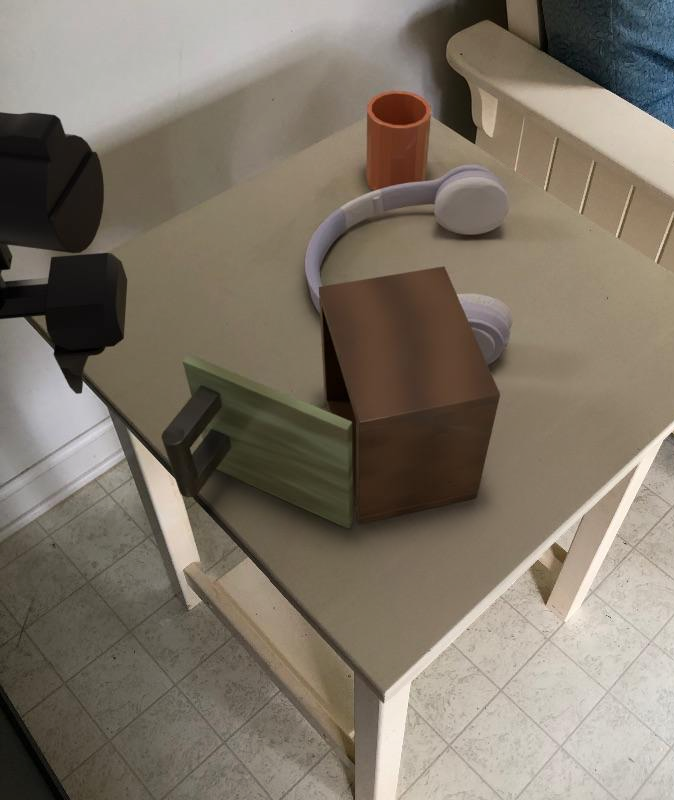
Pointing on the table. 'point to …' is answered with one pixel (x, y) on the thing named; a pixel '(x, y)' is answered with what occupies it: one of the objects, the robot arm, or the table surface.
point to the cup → (397, 139)
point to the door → (261, 442)
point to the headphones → (454, 210)
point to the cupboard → (407, 390)
